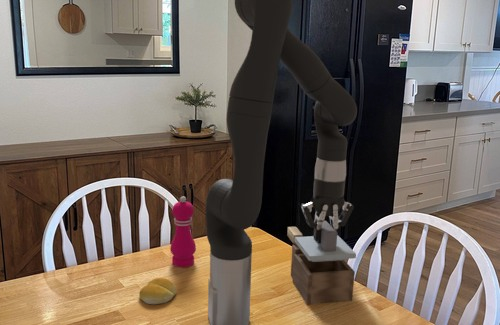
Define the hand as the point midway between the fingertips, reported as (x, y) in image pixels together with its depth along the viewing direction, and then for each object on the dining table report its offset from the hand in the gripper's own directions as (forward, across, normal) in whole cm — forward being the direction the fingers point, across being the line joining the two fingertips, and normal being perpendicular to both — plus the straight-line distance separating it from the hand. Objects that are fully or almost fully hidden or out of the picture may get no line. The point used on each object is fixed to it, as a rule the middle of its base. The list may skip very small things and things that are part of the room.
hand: (324, 241), depth 125 cm
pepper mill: (+14, +34, -22) cm, 43 cm away
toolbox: (+14, 0, -2) cm, 14 cm away
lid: (+3, 0, 0) cm, 3 cm away
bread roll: (+15, +41, -4) cm, 44 cm away
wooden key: (+4, +4, -12) cm, 14 cm away
